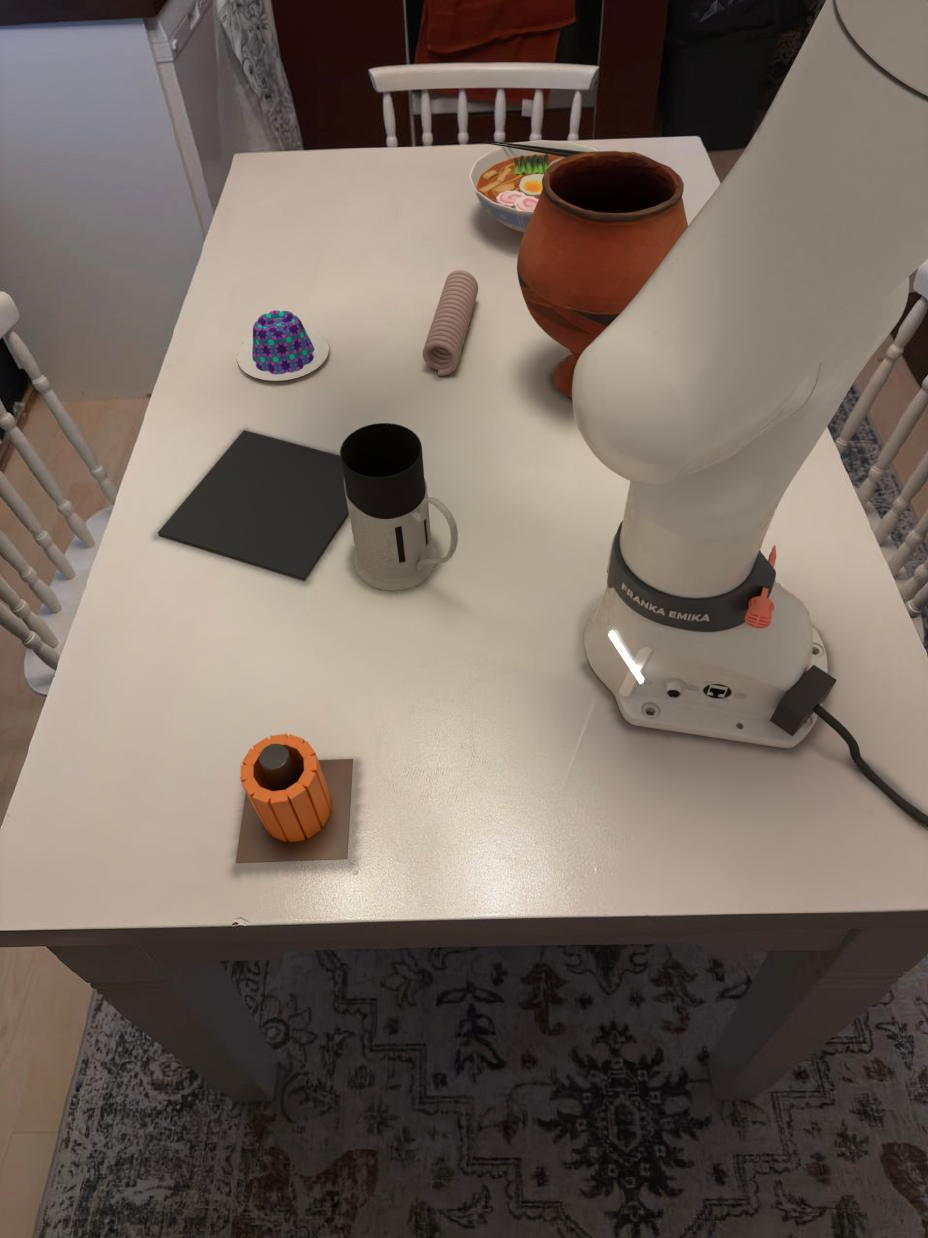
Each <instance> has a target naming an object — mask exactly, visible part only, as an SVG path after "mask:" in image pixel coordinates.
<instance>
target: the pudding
mask: <svg viewBox="0 0 928 1238" xmlns="http://www.w3.org/2000/svg"><path fill="white" fill-rule="evenodd" d="M329 353H330V346H329V343H328V340H327V339H326V337H325V336H324V334H321V333H320V332H319V331H318V330H316V329H313V328H310V327H308V326H307V327H306V326H304V324H303V323H302V320H301V319H300V318H299V317H298V316H297V315H295V314H294V313H292V312H291V311H288V310H271V311H269V312H267V313H263V314H261V315H260V316H259V317H258V318H257V320H256V321H254V324H253V326H252V335H251V336H250V337H248V338H247V339H246V340H244V342H243V343H242V344H241V345H240V347H239V348H238V350H237V354H236V360H237V361H236V362H237V364H238V366H239V367H240V369H241V370H242V371H243V372H244V373H246V374H247V375H249V376H251V377H253V378H256V379H259V380H263V381H270V382H272V381H273V382H276V381H277V382H278V381H279V382H281V381H288V380H293V379H298V378H300V377H303V376H306V375H308V374H310V373H312V372H313V371H315V370H316V369H318V368H319V367H320V366H322V364H323V363H324V362H325V361H326V360H327V358H328V355H329Z"/></svg>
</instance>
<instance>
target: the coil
mask: <svg viewBox="0 0 928 1238" xmlns="http://www.w3.org/2000/svg"><path fill="white" fill-rule="evenodd" d="M478 293H479V284H478V281H477V279H476V278H475V276H474V275H473V274H472V273H470V272H468V271H467V270H463V269H458V270H457V269H456V270H453V271H451V272H450V273H449V274H448V276H446V279H445V282H444V285H443V287H442V291H441V295H440V298H439V301H438V303H437V307H436V309H435V312H434V316H433V318H432V322H431V324H430V328H429V331H428V334H427V338H426V340H425V344H424V345H423V349H422V358H423V361H424V362H425V364H426V365H427V366H428V367H430V368H431V369H433V370H435V371H438V376H439V377H440V376H443V377H444V376H447V375H450V374H452V373H453V372H454V371H455V370H456V369H457V367H458V365H459V361H460V357H461V354H462V350H463V346H464V344H465V340H466V336H467V333H468V328H469V326H470V322H471V319H472V315H473V311H474V308H475V304H476V300H477V297H478Z"/></svg>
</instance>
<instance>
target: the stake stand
mask: <svg viewBox="0 0 928 1238" xmlns="http://www.w3.org/2000/svg"><path fill="white" fill-rule="evenodd" d="M259 761H260V764H261V766H262V768H263V770H264V772H265V775H266V777H267V779H268V781H269V783H270V785H271V787H272V790H273V791H279V790H286V789H287V788H289V787H290V786H292V785H293V784H295V783H296V782H298V780H299V777H298V775H297V772H296V770H295V767H294V765H293V762H292V760H291V757H290V754H289V752H288V750H287V748H286V747H285V746H283V745H281V744H271V745H268V746H267V747H265V748H264V749H263V750H262V752H261V753H260V757H259ZM318 761H319V764H320V767H321V770H322V773H323V776H324V779H325V782H326V785H327V787H328V790H329V793H330V796H331V811H330V816H329V818H328V820H327V822H326V824H325V825H324V827H321V826H320V827H321V830H320V831H319V832H317V833H316V834H315V835H313V836H312V837H310V838H309V839H307V837H306V836H305V840H302V841H295V842H289V840H287V842H284V841H282V840H279V839H277V838H274V837H272V835H270V834H269V833H268V831H267V830H266V828H265V827H264V825H263V824H262V822H261V820H260V818H259V816H258V814H257V812H256V810H255V808H254V807H253V805H252V803H251V801H250V799H249V797H248V795H247V793H246V792H245V795H244V802H243V808H242V816H241V823H240V829H239V836H238V843H237V851H236V858H235V864H250V863H251V864H255V863H257V864H258V863H282V862H286V863H287V862H309V861H311V862H313V861H336V860H337V861H338V860H339V861H341V860H348V857H349V856H348V855H349V841H350V840H349V838H350V821H351V802H352V785H353V767H354V758H341V759H340V758H339V759H337V758H336V759H318Z"/></svg>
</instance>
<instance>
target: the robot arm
mask: <svg viewBox="0 0 928 1238" xmlns="http://www.w3.org/2000/svg"><path fill="white" fill-rule="evenodd" d="M927 261H928V0H825V2H824V4H823V6H822V8H821V9H820V11H819V12H818V15H817V17H816V19H815V21H814V23H813V25H812V26H811V28H810V30H809V32H808V34H807V36H806V38H805V40H804V41H803V44H802V45H801V48H800V49H799V51H798V53H797V55H796V57H795V59H794V61H793V63H792V65H791V66H790V69H789V70H788V72H787V74H786V76H785V77H784V79H783V81H782V82H781V85H780V87H779V89H778V90H777V93H776V95H775V96H774V98H773V100H772V102H771V104H770V106H769V108H768V110H767V111H766V113H765V115H764V117H763V118H762V120H761V122H760V124H759V125H758V127H757V129H756V131H755V133H754V134H753V136H752V137H751V139H750V141H749V143H748V144H747V146H746V147H745V149H744V150H743V152H742V153H741V155H740V156H739V158H738V159H737V160H736V162H735V163H734V164H733V166H732V168H731V169H730V171H729V172H728V173H727V174H726V176H725V177H724V179H723V180H722V182H721V183H720V184H719V185H718V187H716V189H715V190H714V192H713V193H712V194H711V196H710V197H709V198H708V199H707V201H706V202H705V203H704V205H703V206H702V208H700V210H699V211H698V212H697V213H696V215H695V216H694V218H693V219H692V220H691V221H690V223H689V224H688V227H687V228H686V230H685V231H684V232H683V234H682V235H681V236H680V238H679V239H678V240H677V242H676V243H675V244H674V246H673V247H672V248H671V250H670V251H669V252H668V254H667V255H666V257H665V258H664V259H663V261H662V262H661V263H660V265H659V266H658V268H657V269H656V270H655V272H654V273H653V274H652V276H651V277H650V278H649V279H648V281H647V282H646V283H645V285H644V286H643V287H642V288H641V290H640V291H639V292H638V294H637V295H636V296H635V297H634V298H633V300H632V301H631V302H630V303H629V304H628V306H627V307H626V308H625V309H624V310H623V311H622V312H621V313H620V314H619V316H618V317H617V318H616V319H615V320H614V321H613V322H612V323H611V324H610V325H609V326H608V327H607V328H606V329H605V330H604V331H603V332H602V333H601V334H600V335H599V336H598V337H597V338H596V339H595V340H594V341H593V342H592V343H591V344H590V345H589V346H588V347H587V348H586V349H585V350H584V351H583V353H582V354H581V356H580V357H579V359H578V361H577V364H576V367H575V370H574V375H573V384H572V398H571V399H572V409H573V414H574V418H575V423H576V425H577V427H578V430H579V432H580V435H581V437H582V439H583V440H584V442H585V443H586V445H587V447H588V448H589V450H590V451H591V452H592V454H593V455H594V457H596V459H597V460H598V461H599V462H600V463H601V464H603V465H604V466H605V467H606V468H607V469H609V470H610V471H612V472H613V473H614V474H616V475H618V476H619V477H622V478H623V479H625V480H628V481H629V485H628V491H627V495H626V501H625V507H624V512H623V513H624V514H623V518H622V520H621V521H620V523H619V526H618V527H617V531H616V533H615V534H614V536H613V538H612V542H611V546H610V551H609V556H608V563H607V568H606V573H607V580H606V588H605V590H604V593H603V595H602V598H601V599H600V601H599V603H598V605H597V606H596V608H595V609H594V610H593V611H592V613H591V614H590V616H589V618H588V620H587V622H586V625H585V628H584V634H583V645H584V652H585V656H586V659H587V661H588V664H589V665H590V668H591V669H592V670H593V672H594V673H595V675H596V676H597V678H598V679H599V680H600V681H601V682H602V683H603V685H605V686H606V687H607V688H608V690H609V691H610V692H611V693H612V695H613V697H614V698H615V701H616V703H617V706H618V709H619V711H620V714H621V716H622V718H623V719H624V720H625V721H626V722H627V723H628V724H630V725H632V726H636V727H642V728H649V729H656V730H662V731H669V732H675V733H681V734H689V735H695V736H700V737H708V738H715V739H721V740H727V741H728V740H729V741H736V742H741V743H748V744H753V745H760V746H766V747H773V748H774V747H775V748H782V749H792V748H794V747H796V746H797V745H799V744H800V743H801V742H802V741H804V740H805V738H807V736H808V735H809V734H810V732H811V731H812V729H813V728H814V726H815V724H816V722H817V720H818V718H820V719H821V720H822V721H823V722H825V723H826V724H827V725H828V726H829V727H830V728H831V729H832V730H833V731H835V732H836V733H837V734H838V735H839V736H840V738H841V739H842V740H843V741H844V742H845V743H846V745H847V747H848V751H849V755H850V758H851V760H852V762H853V763H854V764H855V766H856V767H857V768H858V769H859V770H860V771H861V773H862V774H863V775H864V776H865V777H866V779H868V781H870V782H871V783H872V784H873V785H875V787H877V788H878V790H880V791H881V792H882V793H883V794H884V795H885V796H887V798H888V799H889V800H891V801H892V802H893V803H894V804H895V805H896V806H898V807H899V808H900V809H901V810H903V811H904V812H906V813H907V814H908V815H909V816H911V817H912V818H913V819H915V820H916V821H918V822H919V823H921V824H922V825H924V826H925V827H926V828H928V815H927V814H926V813H924V812H923V811H921V810H920V809H919V808H917V807H916V806H914V805H913V804H912V803H910V802H909V801H908V800H906V799H905V798H904V797H902V795H900V794H898V792H896V791H895V790H894V789H893V788H892V787H890V786H889V785H888V784H887V783H886V782H885V781H884V780H883V779H882V778H881V777H880V776H879V775H878V774H877V773H876V772H875V771H874V770H873V768H871V767H870V766H869V764H868V763H867V762H866V760H865V759H864V758H863V756H862V754H861V750H860V746H859V743H858V742H857V740H856V739H855V737H854V736H853V735H852V733H851V731H849V730H848V728H846V727H845V726H844V725H843V723H841V722H840V721H839V720H838V719H837V718H836V717H834V715H832V714H831V712H829V711H827V710H826V709H825V708H824V707H823V703H824V702H825V701H826V699H827V697H828V696H829V694H830V693H831V691H832V689H833V688H834V687H835V684H836V683H837V679H836V678H835V677H833V676H832V675H830V674H829V673H828V671H829V670H828V656H827V652H826V648H825V645H824V642H823V640H822V638H821V635H820V634H819V632H818V630H816V628H815V627H814V626H813V625H812V624H813V623H812V618H811V614H810V611H809V610H808V608H807V606H806V605H805V603H804V602H803V601H802V600H801V599H800V598H798V597H797V596H796V595H794V594H792V593H791V592H790V591H789V590H787V589H786V588H785V587H784V586H783V585H781V584H780V583H779V582H778V581H776V578H777V571H776V569H775V565H776V560H777V546H776V545H775V544H773V545H772V548H771V552H770V553H769V556H768V559H767V557H766V556H765V555H764V554H763V552H762V551H761V548H762V545H763V543H764V540H765V537H766V535H767V532H768V531H769V528H770V526H771V523H772V520H773V519H774V516H775V513H776V511H777V508H778V506H779V504H780V502H781V501H782V498H783V497H784V495H785V493H786V491H787V490H788V488H789V486H790V485H791V483H792V482H793V480H794V478H795V476H796V475H797V474H798V472H799V471H800V469H801V468H802V466H803V465H804V464H805V462H806V460H807V459H808V458H809V456H810V454H811V453H812V451H813V450H814V448H815V446H816V445H817V443H818V442H819V440H820V439H821V437H822V436H823V434H824V433H825V431H826V430H827V427H828V426H829V424H830V423H831V421H832V420H833V418H834V416H835V415H836V413H837V412H838V410H839V408H840V406H841V404H842V403H843V401H844V399H845V398H846V396H847V394H848V393H849V391H850V389H851V388H852V386H853V385H854V383H855V381H856V380H857V379H858V377H859V375H860V374H861V372H862V371H863V369H864V368H865V366H866V365H867V364H868V363H869V361H870V359H872V357H873V355H874V354H875V353H876V352H877V351H878V349H879V348H880V346H881V345H882V344H883V343H884V341H885V340H886V339H887V337H888V336H889V335H890V333H891V332H892V331H893V330H894V329H895V327H897V324H898V323H899V321H900V319H901V318H902V317H903V314H904V311H905V309H906V306H907V303H908V299H909V293H910V276H911V275H912V274H913V273H914V272H915V271H916V270H917V269H919V268H920V267H921V266H922V265H923V264H925V262H927ZM647 712H650V713H652V714H653V715H651V714H648V713H647Z"/></svg>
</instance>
